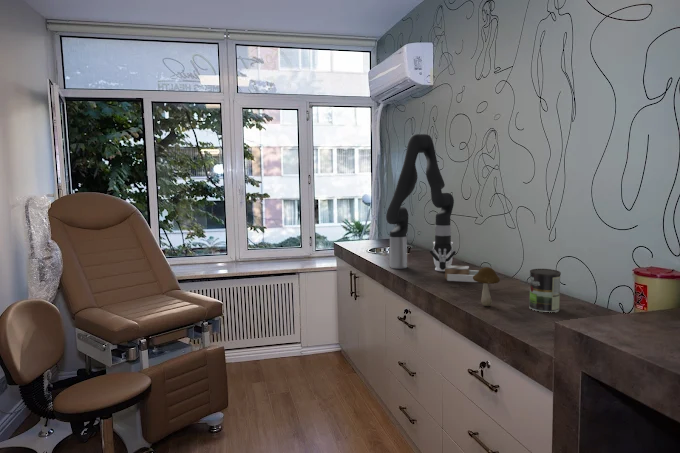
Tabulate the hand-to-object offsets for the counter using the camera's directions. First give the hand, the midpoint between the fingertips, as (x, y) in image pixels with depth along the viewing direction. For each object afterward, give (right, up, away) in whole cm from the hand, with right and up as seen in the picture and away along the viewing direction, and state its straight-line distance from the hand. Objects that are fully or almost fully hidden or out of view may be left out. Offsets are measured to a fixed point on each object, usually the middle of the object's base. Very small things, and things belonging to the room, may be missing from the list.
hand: (442, 269), depth 222 cm
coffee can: (+25, -10, -55) cm, 61 cm away
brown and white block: (+7, -4, 0) cm, 8 cm away
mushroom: (+5, -9, -49) cm, 50 cm away
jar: (+4, -2, +19) cm, 19 cm away
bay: (+10, -4, -3) cm, 11 cm away
